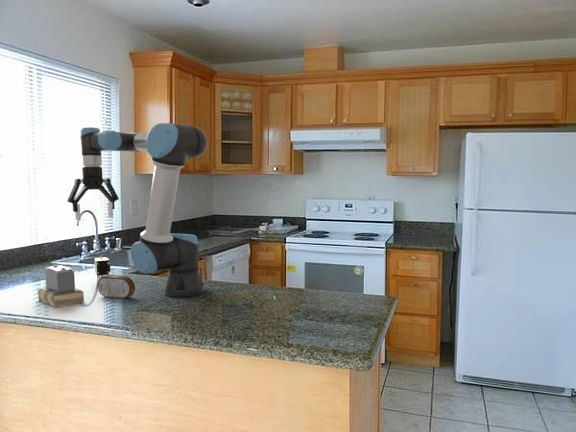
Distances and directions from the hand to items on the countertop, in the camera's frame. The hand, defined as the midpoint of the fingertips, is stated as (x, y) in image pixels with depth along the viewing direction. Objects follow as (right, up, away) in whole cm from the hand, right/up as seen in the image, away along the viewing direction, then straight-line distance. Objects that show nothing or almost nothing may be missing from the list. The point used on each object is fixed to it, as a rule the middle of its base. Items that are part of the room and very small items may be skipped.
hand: (94, 218), depth 196 cm
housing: (-5, -26, -19) cm, 32 cm away
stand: (-5, -30, -18) cm, 36 cm away
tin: (+14, -30, -14) cm, 36 cm away
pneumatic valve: (0, -28, +10) cm, 30 cm away
